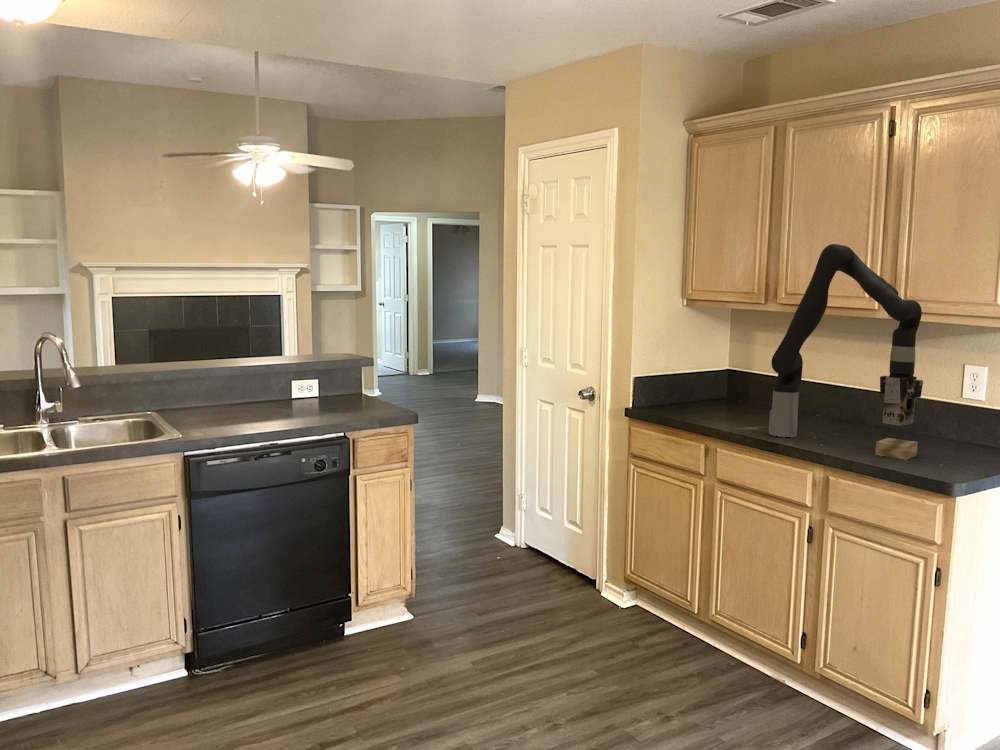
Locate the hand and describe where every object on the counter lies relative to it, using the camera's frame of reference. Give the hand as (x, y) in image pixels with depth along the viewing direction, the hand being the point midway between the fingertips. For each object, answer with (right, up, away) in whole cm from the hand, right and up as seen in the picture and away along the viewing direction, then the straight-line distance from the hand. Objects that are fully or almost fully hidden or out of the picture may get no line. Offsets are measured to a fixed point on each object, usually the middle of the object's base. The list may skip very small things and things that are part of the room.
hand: (899, 408), depth 266 cm
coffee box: (0, -5, +1) cm, 5 cm away
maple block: (0, -17, +2) cm, 17 cm away
